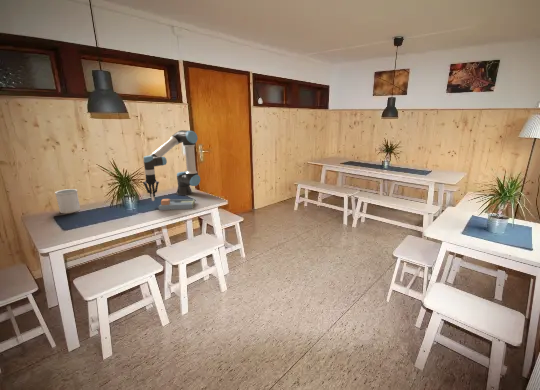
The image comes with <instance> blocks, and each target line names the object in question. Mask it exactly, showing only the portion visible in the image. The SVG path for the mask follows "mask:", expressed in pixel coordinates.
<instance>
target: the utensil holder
mask: <svg viewBox="0 0 540 390" xmlns="http://www.w3.org/2000/svg"><path fill="white" fill-rule="evenodd" d="M54 194H55V197H56V201H57V205H58V209H59V212H60V213H61V214H72V213H76V212H78V211H81V207H80V206H81V205H80V201H79V200H80V199H79V195H78V189H76V188H68V189H60V190H57V191H55V192H54Z"/></svg>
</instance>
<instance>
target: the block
mask: <svg viewBox="0 0 540 390" xmlns="http://www.w3.org/2000/svg"><path fill="white" fill-rule="evenodd" d="M170 200H171V199H170V198H162V199H161V201H160V205H169V204H170Z"/></svg>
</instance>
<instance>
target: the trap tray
mask: <svg viewBox="0 0 540 390" xmlns="http://www.w3.org/2000/svg"><path fill="white" fill-rule="evenodd" d="M195 203H196V200H195V198H187V199H186V198H185V199H183V198H182V199H170V204H169V205H161V204H159V205H158V210H159V211H162V210H163V211H165V210H166V211H167V210H170V209H171V210H190V209H191V210H193V208H194V206H195Z"/></svg>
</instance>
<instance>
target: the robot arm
mask: <svg viewBox="0 0 540 390" xmlns="http://www.w3.org/2000/svg"><path fill="white" fill-rule="evenodd" d="M197 141H198V135H197V133H196V132H195V131H193V130H185V129H183V130H179V131H177V132H175V133H174V134H172V135H171V136H170V138H169V139H168V140H167V141H165V142H164V143H163V144H162V145H161V146H159V147H158V148H156V150H155V151H153V152H151V154H149V155H145V156H143V165H144V174H145V181H144V182H143V185H144V187H145V189H146V193H147V194H149V197H150V198H151V202H154V201H155V197H156V193H158V186H159V183H160V181H157V180H156V172H155V171H156V170H155V167H160V166H161V167H162V166H166V165H167V163H168V161H167V158H166V157H165V155H166V154H167V153H168V152H169V151H171V150H172V149H173V148H174V147H175V146H178V145H180V144H181V143H182V145H183V147H184V150H185V151H184V152H185V163H186V164H185V165H186V170H185V171H180V172H179V171H178V172H176V181H177V189H176V195H178V196H189V195H191V194H192V193H193V191H192V188H191V187H197V186H198V185H199V184H200V183H201V177H200V175H198V171H197V168H196V167H197V166H196V156H195V155H196V154H195V153H196V152H195V146H196V143H197Z"/></svg>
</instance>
